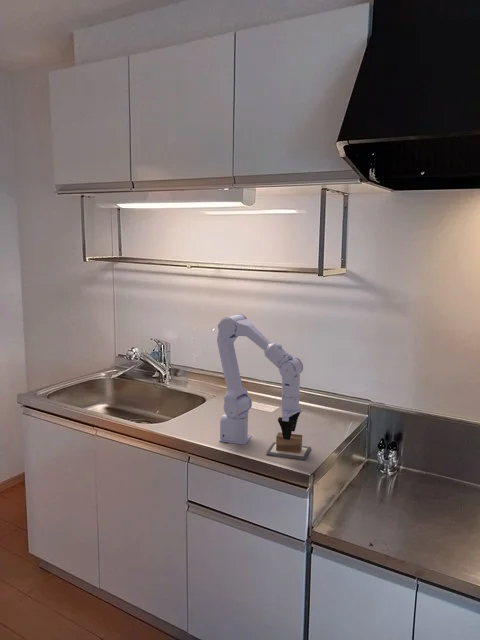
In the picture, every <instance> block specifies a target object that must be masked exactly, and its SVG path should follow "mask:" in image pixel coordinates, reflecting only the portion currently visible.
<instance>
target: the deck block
mask: <svg viewBox="0 0 480 640" xmlns="http://www.w3.org/2000/svg"><path fill="white" fill-rule="evenodd" d="M275 439H276V440H275V442H276V450H277V451H285V452H292V453H300V452H301V450H302V446H303V435H302V434H298V433H297V434H296V433H291V438H290V440H286V439H283V435H282V431H281V432H277V434H276V436H275Z"/></svg>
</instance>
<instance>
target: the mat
mask: <svg viewBox="0 0 480 640" xmlns="http://www.w3.org/2000/svg"><path fill="white" fill-rule="evenodd" d="M311 449H312V446H307V445H306V446H305V445H302V450H301V452H300V453H292V452H285V451H277V450H276V441H273V442H272V444H271V446H269V449H268V450H267V452H266V453H265V455H266V456H271V457H277V458H283V459H291V460H299V461H307V459H308V456H309V454H310V451H311Z"/></svg>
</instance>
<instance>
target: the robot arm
mask: <svg viewBox="0 0 480 640" xmlns="http://www.w3.org/2000/svg"><path fill="white" fill-rule="evenodd" d="M217 329H218V332H217V337H216V343H217V347H218V353H219V356H220V362H221V366H222V372H223V377H224V381H225V385H226V392H225V394H224V396H223V400H224V402H223V411H224V413H223V414H222V415H221V416H220V422H219V440H218V441H219V442H222V443H231V444H236V445H237V444H238V445H246V444H247V443H248V442H249V440H250V439H251V438H252V435H251V434H249V433H248V432H249V411H250V409H251V408H252V406H253V401H252V399H251V397H250V396H249V393H248V390H247V389H246V388H245V387H244V386H243V382H242V378H241V373H240V369H239V364H238V358H237V354H236V349H235V345H234V344H235V341H236V340H237V339H238V338H239V337H247V338H248V340H250V341H252V343H254V344H255V345H256V346H258V347H259V348H260V349H261V350H263V353H264V357H265V358H266V359H268V360H269V362H271V364H273V365H274V366H275V367H276V368H277V369H278V371H279V374H280V376H281V406H280V412H281V414H282V416H281V417H280V416H279V417H278V418H277V422H278V424H279V426H280V428H281V433H282V435H283V439H286V440H290V438H291V434H293V433H292V432H294V433H295V431H296V427H297V424H298V420H299V417H300V414H302V412H303V408H300V390H301V389H300V386H301V385H300V384H301V375H300V374H302V373H303V370H304V364H303V362H302V361H301V359H300V358H298V357H294V356H293V355H292V354H289V352H287V351H286V350H285V349H284V348H283V346H282V344H280V343H277V342H271V341H270V340H269V339H268V338H266V337H265V335H263V333H262V332H260V329H258V328H257V327H256V326H255V325H254V324H253V323H252V320H251V319H249V318H248V317H247V316H246V315H245V314H241V313H237V314H235V315H231V316H225V317H223V318H222V319H220V321H219V322H218V324H217Z"/></svg>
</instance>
